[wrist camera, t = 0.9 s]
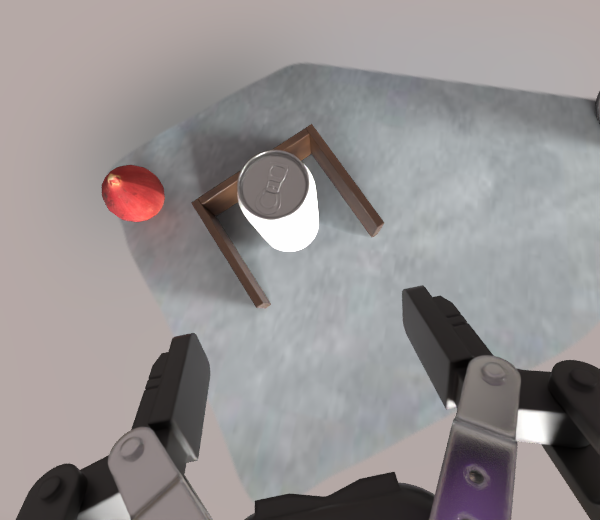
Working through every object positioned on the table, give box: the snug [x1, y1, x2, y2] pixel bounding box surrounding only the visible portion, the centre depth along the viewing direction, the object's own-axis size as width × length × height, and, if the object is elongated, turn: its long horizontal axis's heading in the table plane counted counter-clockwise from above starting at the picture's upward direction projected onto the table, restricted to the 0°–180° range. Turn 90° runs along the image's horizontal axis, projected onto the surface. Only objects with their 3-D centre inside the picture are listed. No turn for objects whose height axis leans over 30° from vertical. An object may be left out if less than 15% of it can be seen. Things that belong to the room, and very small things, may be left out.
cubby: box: [192, 124, 384, 308], centre depth 36 cm, size 15×13×4 cm
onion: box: [102, 165, 165, 222], centre depth 36 cm, size 6×6×8 cm
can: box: [237, 150, 319, 252], centre depth 32 cm, size 6×6×12 cm
